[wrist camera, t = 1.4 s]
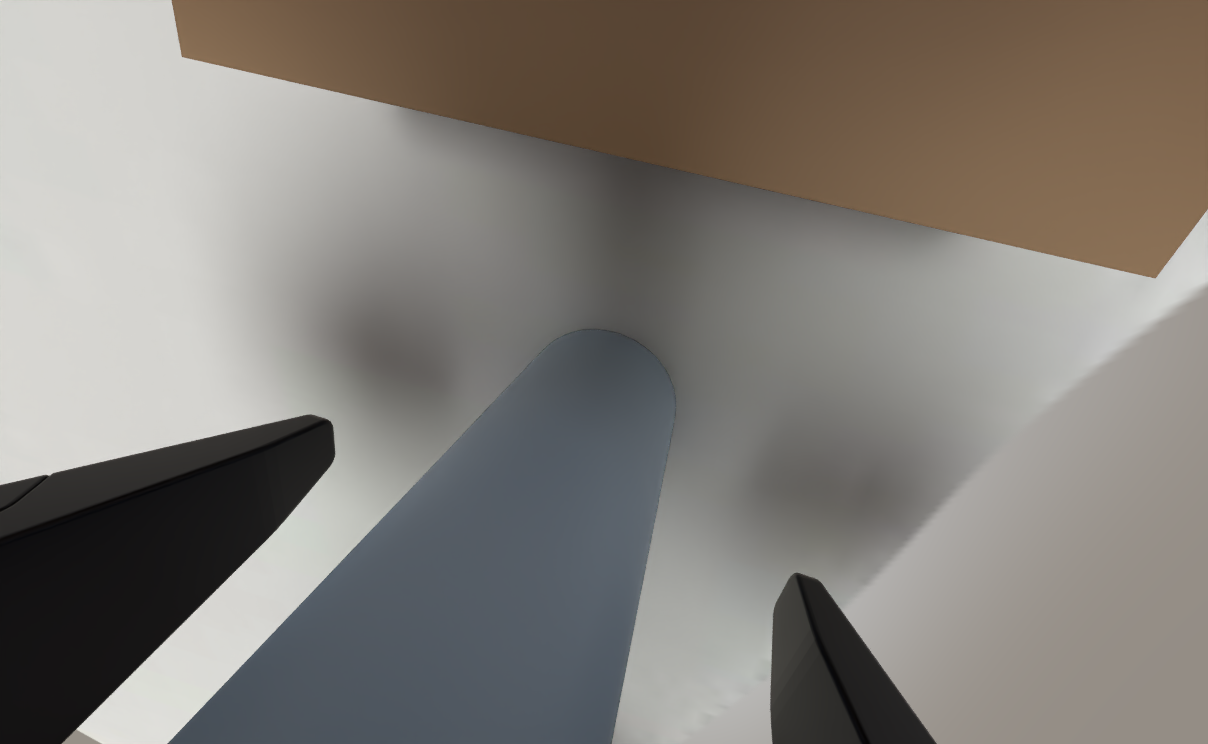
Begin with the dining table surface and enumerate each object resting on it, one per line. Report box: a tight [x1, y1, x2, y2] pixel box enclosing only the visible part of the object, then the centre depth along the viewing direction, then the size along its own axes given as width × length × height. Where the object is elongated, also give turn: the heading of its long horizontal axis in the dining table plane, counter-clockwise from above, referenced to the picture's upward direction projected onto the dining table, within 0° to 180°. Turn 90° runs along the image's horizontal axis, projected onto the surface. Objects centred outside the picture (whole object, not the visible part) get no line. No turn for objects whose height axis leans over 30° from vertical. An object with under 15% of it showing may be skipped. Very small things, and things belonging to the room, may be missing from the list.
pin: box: [168, 329, 676, 744], centre depth 8 cm, size 4×4×10 cm
